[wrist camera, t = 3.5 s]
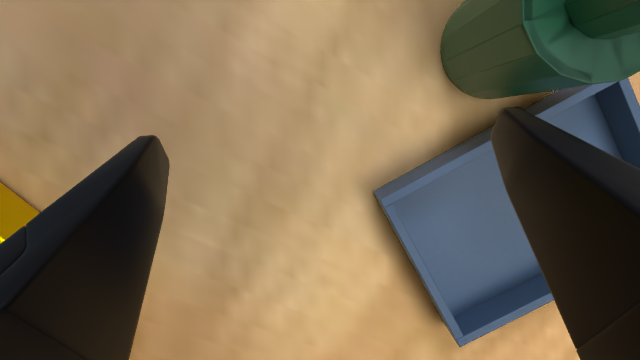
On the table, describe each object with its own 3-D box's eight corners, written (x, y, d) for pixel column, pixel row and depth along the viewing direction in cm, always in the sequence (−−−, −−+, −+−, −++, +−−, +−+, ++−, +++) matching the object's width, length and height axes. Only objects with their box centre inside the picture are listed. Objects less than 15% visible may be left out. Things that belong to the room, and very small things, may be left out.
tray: (651, 219, 25) (691, 231, 23) (444, 324, 26) (459, 347, 24) (588, 73, 24) (624, 67, 21) (372, 191, 25) (379, 199, 22)
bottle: (559, 67, 24) (844, -1, 11) (467, 117, 24) (637, 109, 11) (517, -29, 23) (774, -225, 10) (422, 25, 23) (552, -96, 10)
